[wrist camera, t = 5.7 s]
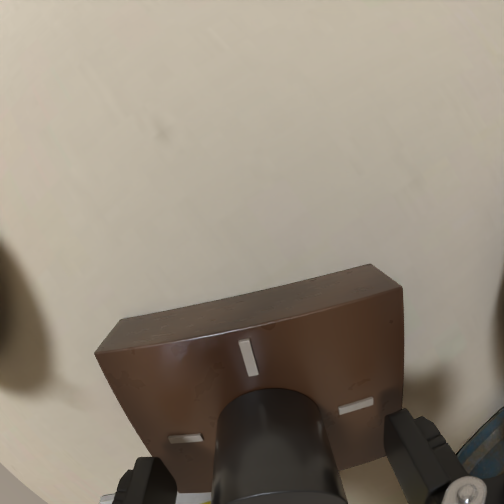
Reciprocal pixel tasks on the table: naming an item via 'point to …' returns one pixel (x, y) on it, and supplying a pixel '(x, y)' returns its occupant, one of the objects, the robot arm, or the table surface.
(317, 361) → the panel
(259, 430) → the round knob
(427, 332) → the table surface
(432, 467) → the robot arm
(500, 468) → the lantern
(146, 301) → the table surface
